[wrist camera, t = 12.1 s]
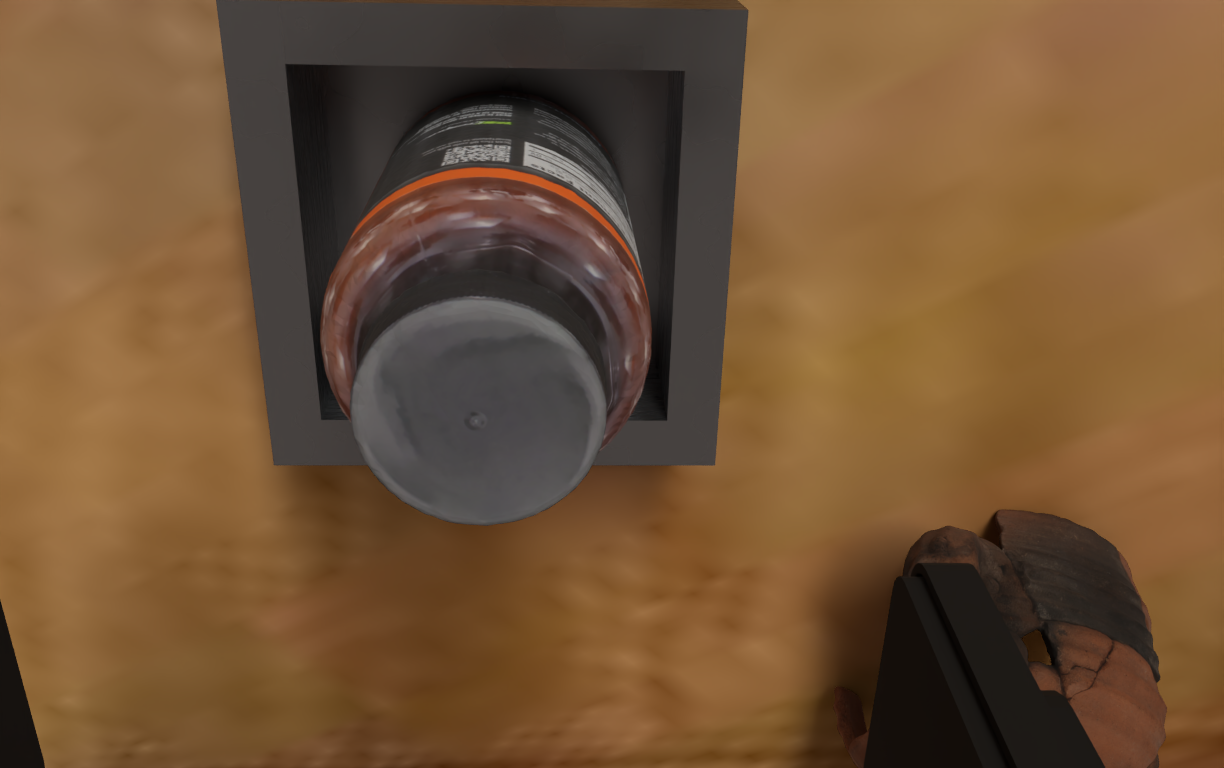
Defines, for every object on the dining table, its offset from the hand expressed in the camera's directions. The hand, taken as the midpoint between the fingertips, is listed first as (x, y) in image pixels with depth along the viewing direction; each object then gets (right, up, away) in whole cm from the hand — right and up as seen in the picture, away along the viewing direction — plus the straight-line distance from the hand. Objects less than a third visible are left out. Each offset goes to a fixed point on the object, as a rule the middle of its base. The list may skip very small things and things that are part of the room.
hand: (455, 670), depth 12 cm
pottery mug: (+13, -4, +23) cm, 27 cm away
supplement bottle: (-1, +7, +16) cm, 17 cm away
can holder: (-1, +8, +16) cm, 18 cm away
